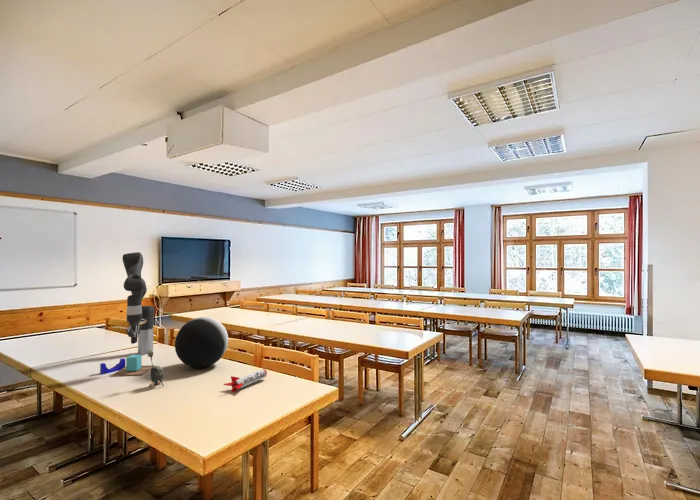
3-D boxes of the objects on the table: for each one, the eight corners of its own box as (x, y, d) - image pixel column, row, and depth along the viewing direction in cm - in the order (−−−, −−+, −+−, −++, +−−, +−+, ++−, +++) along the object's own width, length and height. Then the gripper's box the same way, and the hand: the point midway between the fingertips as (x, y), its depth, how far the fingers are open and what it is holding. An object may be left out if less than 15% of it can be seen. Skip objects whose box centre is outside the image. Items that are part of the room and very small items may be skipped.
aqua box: (131, 367, 203) (131, 354, 203) (141, 367, 203) (141, 354, 203) (126, 371, 197) (126, 357, 197) (136, 370, 198) (136, 357, 198)
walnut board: (126, 368, 207) (126, 366, 207) (154, 367, 209) (154, 365, 209) (111, 377, 191) (111, 375, 191) (141, 376, 193) (141, 374, 193)
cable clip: (121, 367, 208) (121, 357, 208) (125, 369, 206) (125, 359, 206) (98, 373, 198) (98, 363, 198) (102, 375, 195) (102, 364, 195)
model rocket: (272, 383, 185) (273, 364, 185) (238, 399, 165) (238, 378, 165) (258, 379, 190) (258, 361, 190) (223, 394, 170) (223, 374, 170)
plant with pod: (152, 393, 170) (152, 353, 170) (143, 387, 177) (143, 349, 177) (169, 388, 176) (169, 349, 176) (159, 383, 184) (160, 345, 184)
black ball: (236, 359, 224) (236, 313, 224) (213, 376, 194) (213, 323, 194) (192, 358, 227) (192, 312, 227) (163, 374, 197) (163, 321, 197)
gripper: (133, 311, 207) (133, 340, 206) (120, 315, 193) (120, 346, 193) (146, 311, 207) (146, 339, 207) (135, 315, 194) (134, 346, 194)
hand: (134, 342), depth 200 cm, fingers closed
